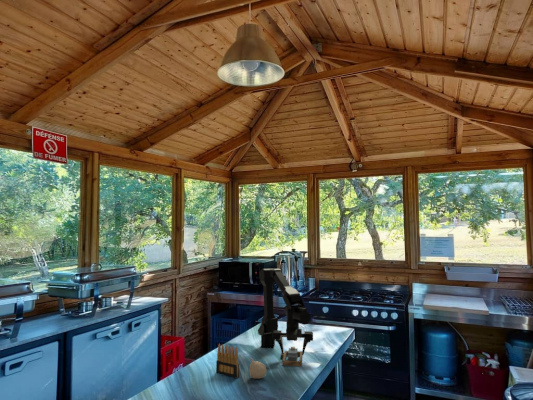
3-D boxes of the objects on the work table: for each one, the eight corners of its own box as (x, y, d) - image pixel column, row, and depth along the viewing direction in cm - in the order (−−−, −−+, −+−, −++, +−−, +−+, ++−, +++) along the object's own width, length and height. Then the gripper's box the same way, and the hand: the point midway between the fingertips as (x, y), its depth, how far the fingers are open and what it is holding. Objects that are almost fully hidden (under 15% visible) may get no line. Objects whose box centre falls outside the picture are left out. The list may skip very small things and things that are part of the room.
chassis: (279, 365, 164) (279, 361, 164) (281, 354, 178) (281, 350, 179) (301, 366, 163) (301, 361, 163) (302, 355, 177) (302, 351, 177)
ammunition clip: (239, 376, 151) (239, 346, 152) (236, 378, 149) (236, 347, 150) (218, 371, 156) (218, 342, 158) (215, 373, 155) (216, 343, 156)
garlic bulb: (255, 374, 154) (255, 354, 155) (268, 377, 151) (268, 356, 151) (246, 379, 148) (246, 358, 149) (260, 382, 145) (260, 361, 146)
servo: (287, 364, 166) (287, 351, 166) (289, 357, 175) (289, 345, 176) (296, 364, 166) (296, 351, 166) (297, 357, 175) (297, 345, 175)
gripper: (270, 323, 165) (270, 359, 164) (313, 324, 163) (313, 361, 162) (273, 317, 176) (273, 351, 175) (312, 319, 174) (313, 353, 173)
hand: (292, 354), depth 171 cm, fingers open, 9 cm apart
